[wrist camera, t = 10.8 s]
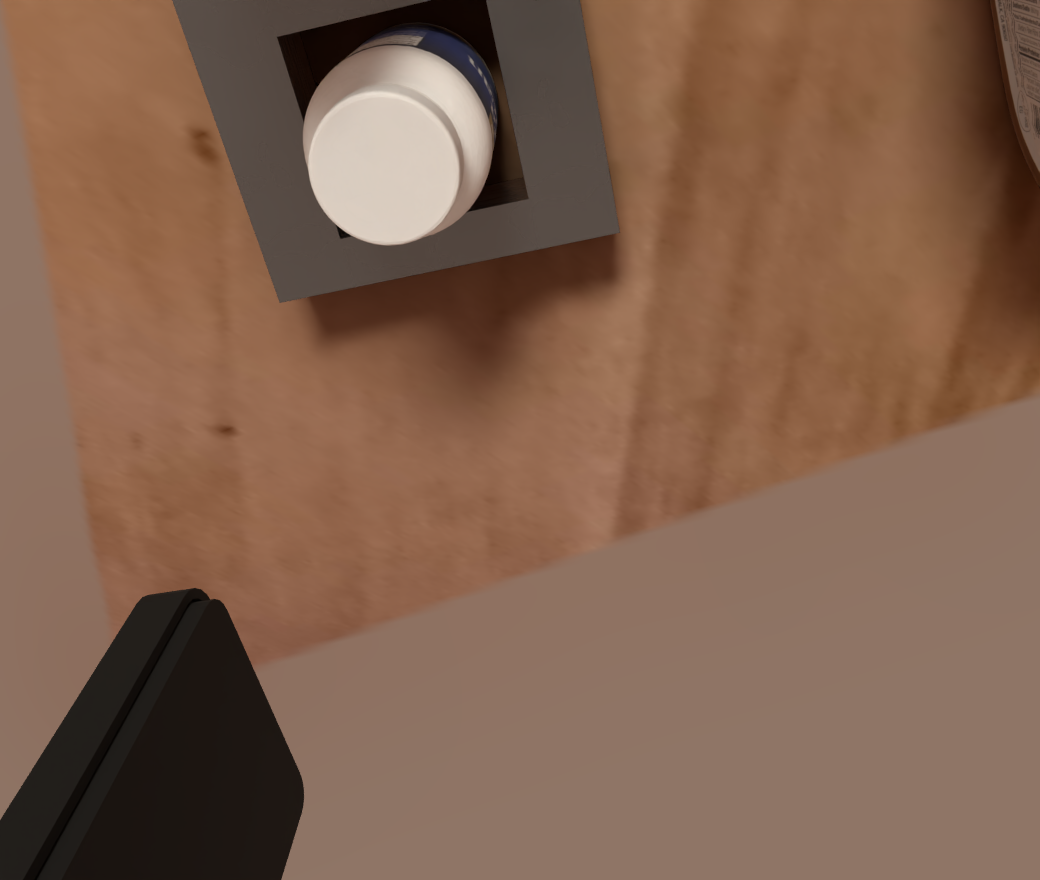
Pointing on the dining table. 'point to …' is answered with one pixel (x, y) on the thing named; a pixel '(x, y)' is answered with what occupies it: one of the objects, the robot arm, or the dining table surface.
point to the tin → (1021, 71)
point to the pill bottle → (402, 134)
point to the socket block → (499, 207)
